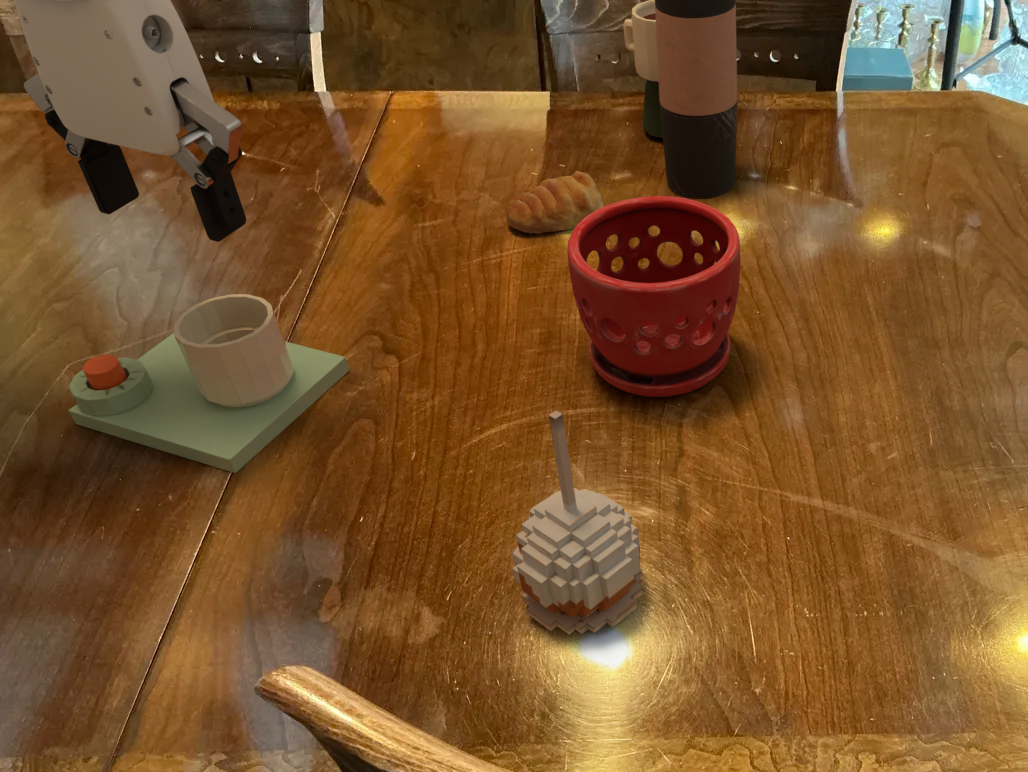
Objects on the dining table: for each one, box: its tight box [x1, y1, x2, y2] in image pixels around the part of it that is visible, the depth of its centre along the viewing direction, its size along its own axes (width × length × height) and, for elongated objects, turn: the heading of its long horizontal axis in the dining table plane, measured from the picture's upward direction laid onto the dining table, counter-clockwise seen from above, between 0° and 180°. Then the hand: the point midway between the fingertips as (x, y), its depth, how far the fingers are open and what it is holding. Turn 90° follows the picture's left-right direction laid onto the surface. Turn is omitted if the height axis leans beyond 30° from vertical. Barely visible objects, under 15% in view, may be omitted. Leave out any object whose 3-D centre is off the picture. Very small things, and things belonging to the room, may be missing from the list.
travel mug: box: [655, 0, 738, 199], centre depth 105 cm, size 8×8×20 cm
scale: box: [68, 332, 350, 474], centre depth 86 cm, size 17×14×3 cm
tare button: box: [82, 354, 127, 391], centre depth 84 cm, size 3×3×2 cm
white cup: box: [173, 293, 294, 407], centre depth 84 cm, size 7×7×6 cm
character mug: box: [623, 0, 663, 139], centre depth 116 cm, size 11×7×13 cm, turn 58°
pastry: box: [505, 170, 605, 235], centre depth 106 cm, size 9×7×4 cm
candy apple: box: [511, 409, 644, 635], centre depth 66 cm, size 8×8×15 cm
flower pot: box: [566, 195, 741, 398], centre depth 85 cm, size 13×13×12 cm
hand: (174, 218), depth 76 cm, fingers open, 9 cm apart
